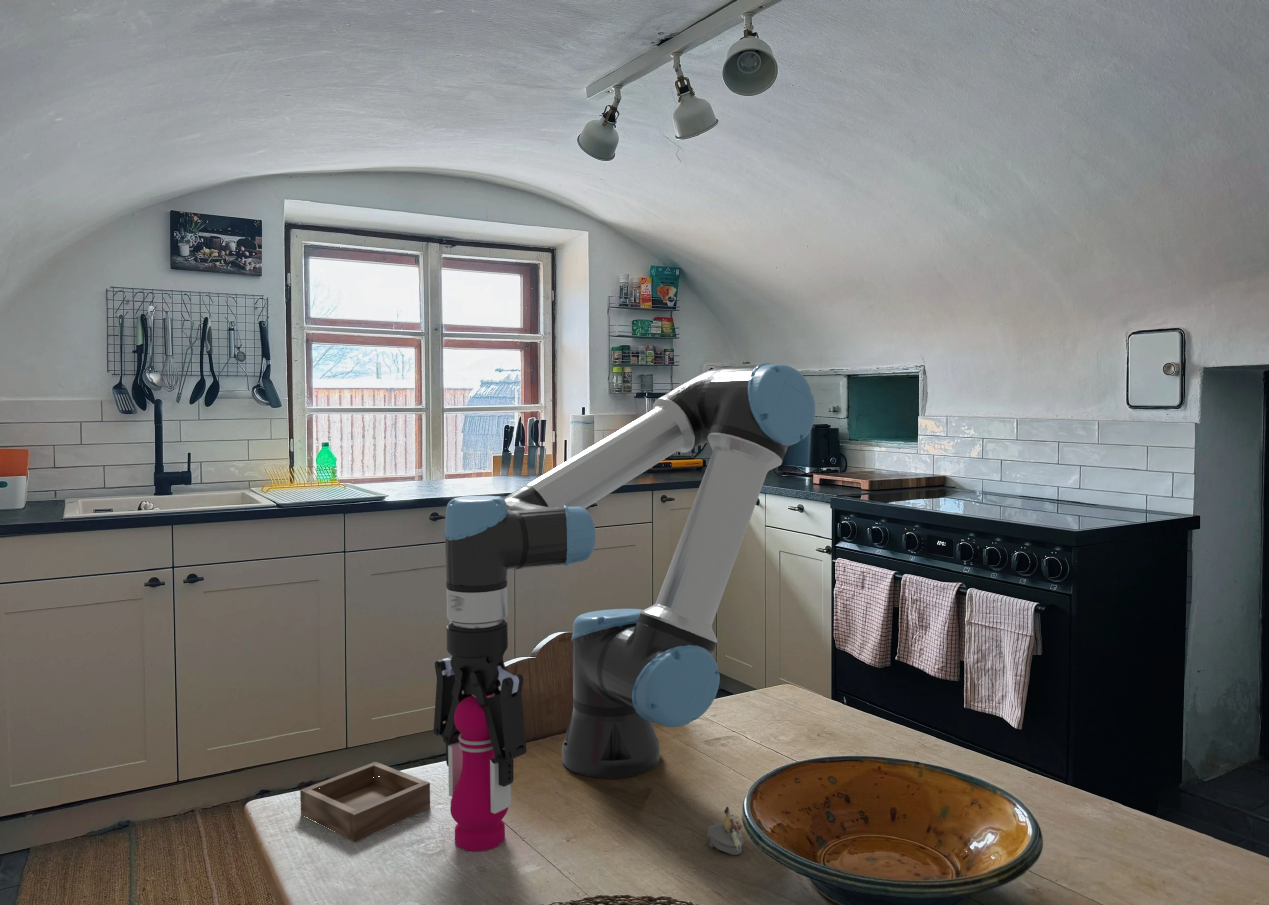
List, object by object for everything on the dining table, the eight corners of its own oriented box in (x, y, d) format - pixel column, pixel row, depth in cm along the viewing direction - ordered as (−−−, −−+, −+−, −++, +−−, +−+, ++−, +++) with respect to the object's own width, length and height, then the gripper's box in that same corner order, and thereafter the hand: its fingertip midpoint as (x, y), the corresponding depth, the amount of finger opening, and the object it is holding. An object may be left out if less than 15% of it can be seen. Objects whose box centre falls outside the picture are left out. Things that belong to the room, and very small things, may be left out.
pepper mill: (497, 856, 110) (495, 694, 109) (441, 850, 111) (439, 691, 110) (516, 828, 117) (515, 676, 116) (464, 823, 118) (462, 673, 117)
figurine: (698, 842, 113) (704, 798, 112) (724, 834, 115) (730, 790, 114) (725, 866, 108) (732, 820, 107) (752, 856, 111) (759, 812, 110)
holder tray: (430, 807, 123) (429, 782, 123) (355, 841, 113) (354, 814, 113) (375, 785, 130) (375, 761, 130) (300, 815, 121) (300, 789, 120)
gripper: (401, 614, 115) (404, 790, 117) (512, 639, 103) (514, 834, 105) (447, 604, 121) (449, 771, 123) (556, 626, 109) (558, 811, 111)
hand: (479, 800), depth 114 cm, fingers closed on pepper mill, 7 cm apart
